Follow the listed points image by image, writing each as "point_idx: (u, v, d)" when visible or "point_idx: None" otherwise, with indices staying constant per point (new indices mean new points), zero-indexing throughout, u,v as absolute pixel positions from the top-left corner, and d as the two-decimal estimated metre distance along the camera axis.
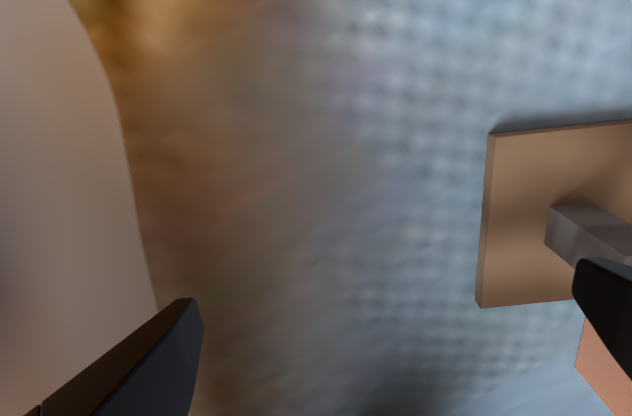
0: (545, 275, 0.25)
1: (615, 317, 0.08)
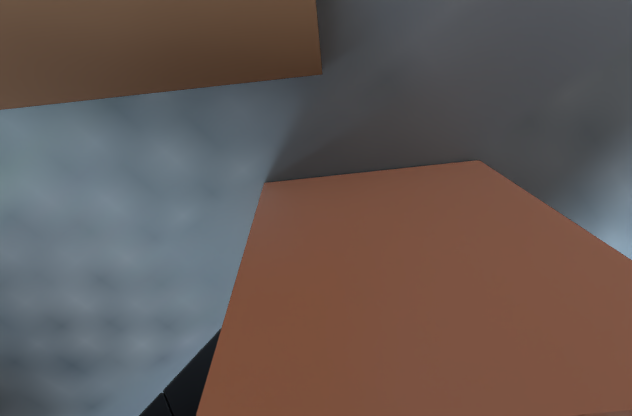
0: None
1: None
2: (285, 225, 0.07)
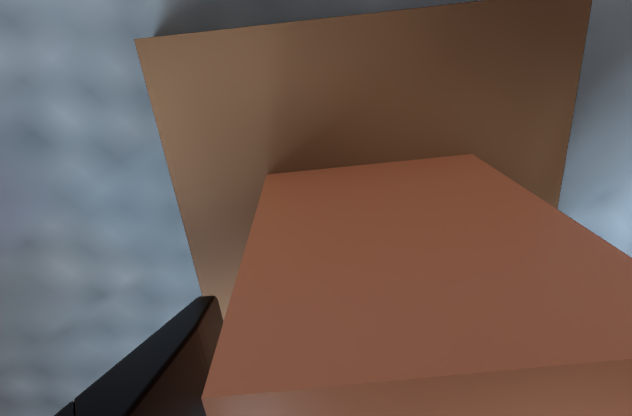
0: None
1: None
2: (287, 212, 0.07)
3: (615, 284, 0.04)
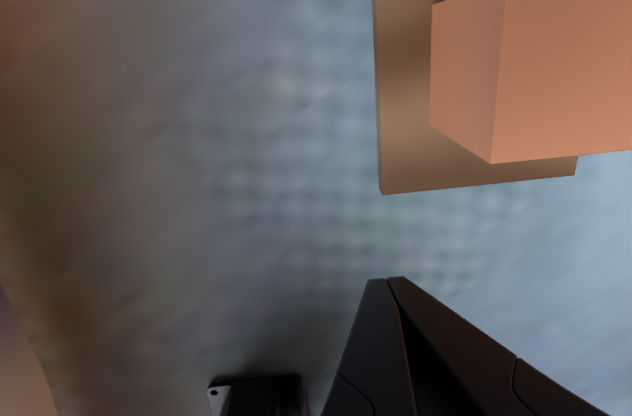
0: None
1: None
2: None
3: None
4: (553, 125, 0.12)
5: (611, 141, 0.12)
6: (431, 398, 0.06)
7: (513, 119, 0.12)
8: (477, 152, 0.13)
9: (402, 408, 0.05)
